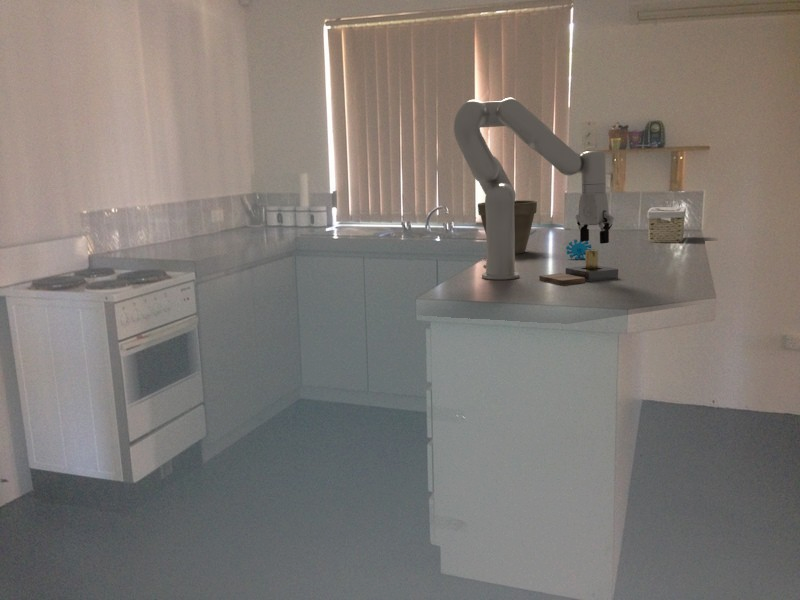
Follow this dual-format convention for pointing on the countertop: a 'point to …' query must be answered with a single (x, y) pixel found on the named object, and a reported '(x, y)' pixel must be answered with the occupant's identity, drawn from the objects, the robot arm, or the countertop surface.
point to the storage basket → (666, 224)
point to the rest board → (562, 279)
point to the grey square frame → (593, 273)
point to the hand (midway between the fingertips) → (594, 242)
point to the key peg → (591, 260)
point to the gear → (578, 249)
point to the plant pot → (517, 221)
